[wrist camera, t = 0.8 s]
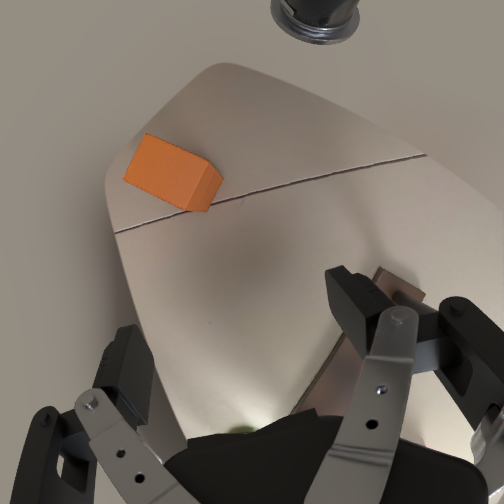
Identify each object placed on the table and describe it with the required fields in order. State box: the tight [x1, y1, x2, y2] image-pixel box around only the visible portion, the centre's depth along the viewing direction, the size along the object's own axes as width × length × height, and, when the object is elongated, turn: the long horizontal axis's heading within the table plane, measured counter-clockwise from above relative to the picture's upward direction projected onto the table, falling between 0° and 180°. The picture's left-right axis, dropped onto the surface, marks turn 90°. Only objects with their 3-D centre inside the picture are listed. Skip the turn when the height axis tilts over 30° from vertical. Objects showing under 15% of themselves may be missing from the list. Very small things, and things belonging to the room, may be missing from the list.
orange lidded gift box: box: [123, 133, 223, 212], centre depth 27 cm, size 4×6×11 cm
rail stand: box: [290, 268, 439, 416], centre depth 30 cm, size 24×7×11 cm, turn 153°
